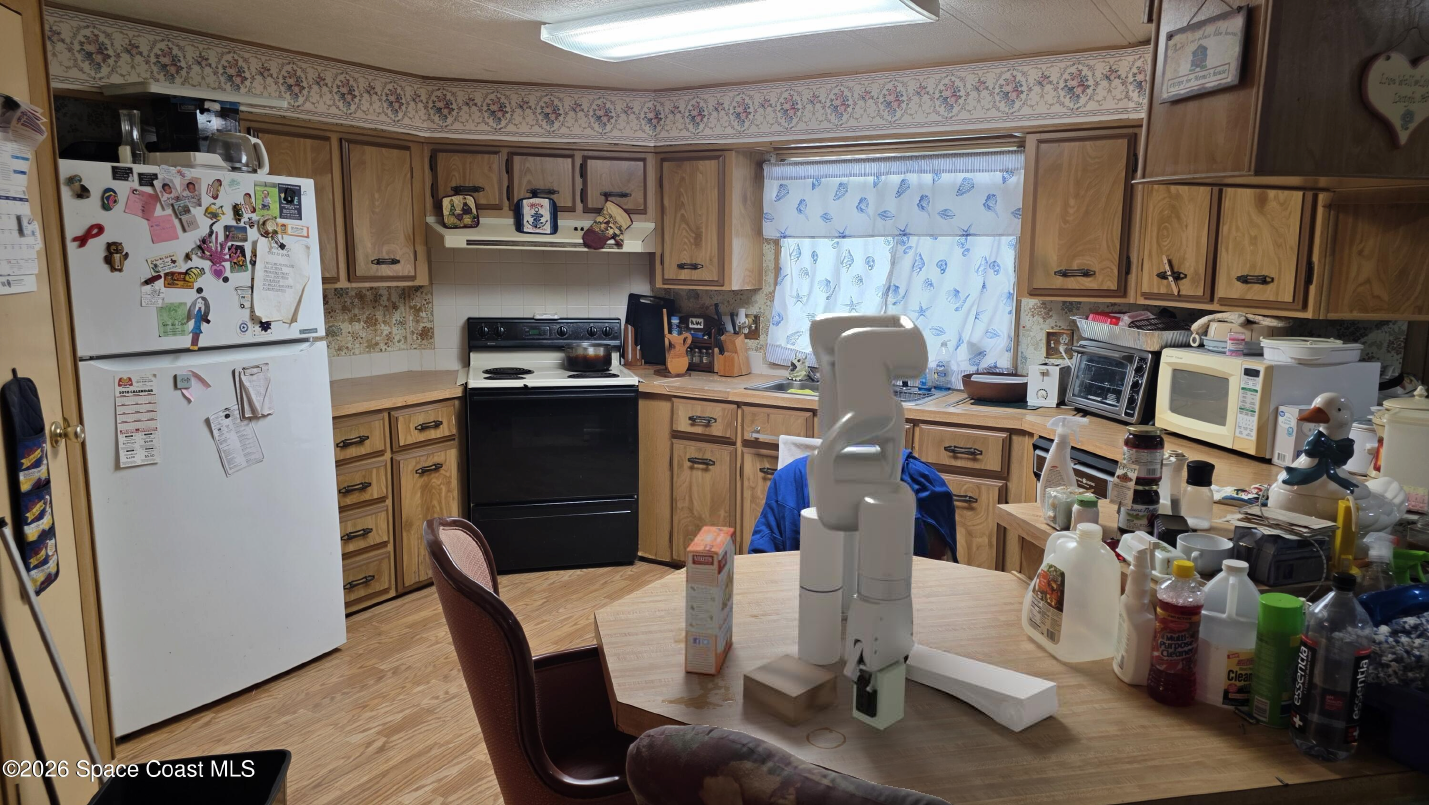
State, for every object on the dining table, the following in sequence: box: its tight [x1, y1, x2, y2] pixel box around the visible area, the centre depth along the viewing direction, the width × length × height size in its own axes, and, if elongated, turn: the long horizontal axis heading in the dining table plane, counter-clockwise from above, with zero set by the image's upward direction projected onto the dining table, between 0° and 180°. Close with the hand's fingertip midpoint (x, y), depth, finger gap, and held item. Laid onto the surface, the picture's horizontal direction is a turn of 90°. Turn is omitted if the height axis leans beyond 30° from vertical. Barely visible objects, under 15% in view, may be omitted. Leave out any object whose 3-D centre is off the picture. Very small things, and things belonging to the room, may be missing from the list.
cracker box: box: [684, 525, 736, 676], centre depth 150 cm, size 14×6×21 cm, turn 168°
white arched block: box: [905, 643, 1059, 733], centre depth 140 cm, size 10×7×28 cm
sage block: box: [852, 661, 906, 731], centre depth 125 cm, size 5×5×8 cm
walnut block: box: [742, 653, 838, 728], centre depth 135 cm, size 10×10×5 cm
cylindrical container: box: [797, 507, 844, 666], centre depth 150 cm, size 7×7×25 cm
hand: (878, 705), depth 126 cm, fingers closed on sage block, 4 cm apart
